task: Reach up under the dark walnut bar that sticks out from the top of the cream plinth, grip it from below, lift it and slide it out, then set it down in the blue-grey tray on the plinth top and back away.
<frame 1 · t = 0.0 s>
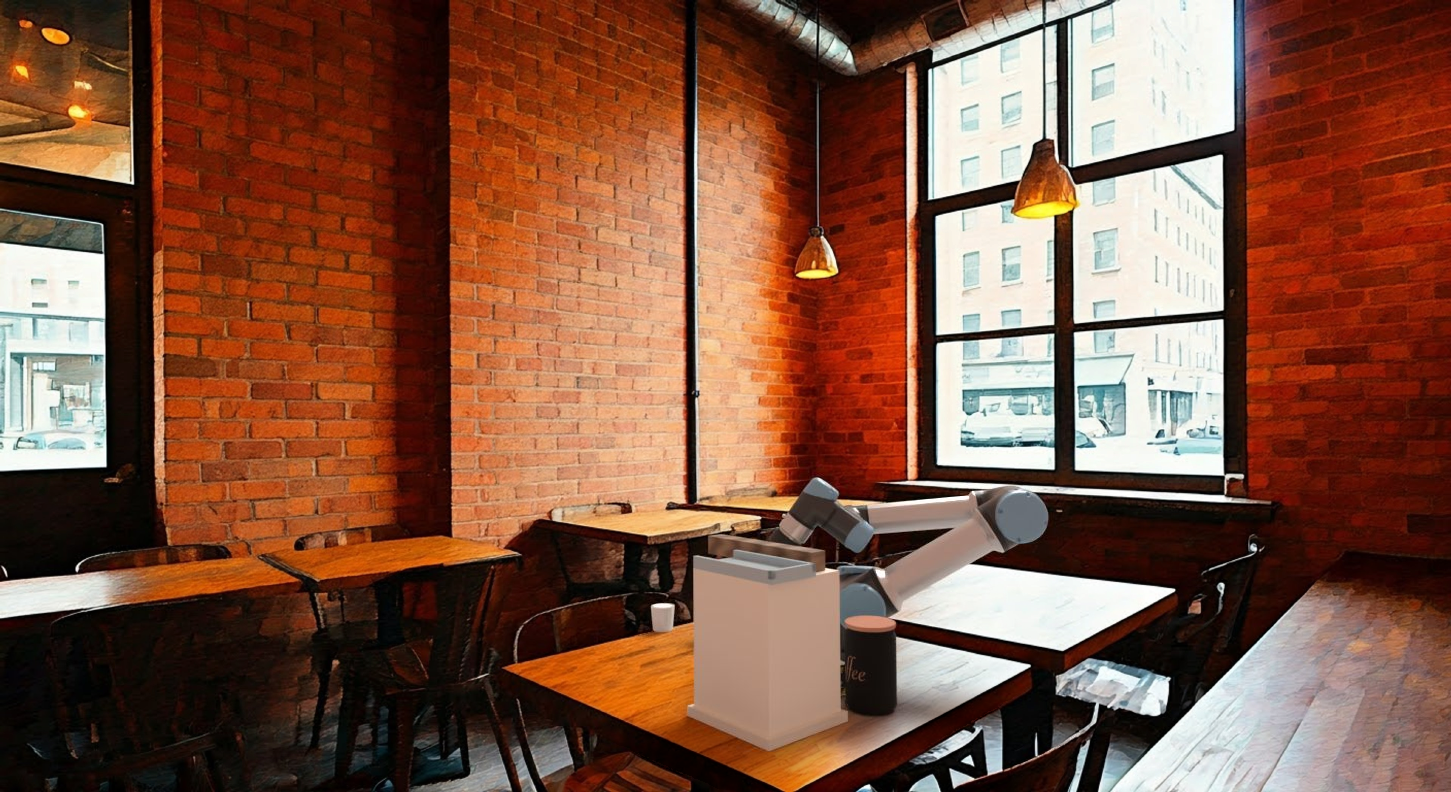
hand: (739, 605, 197), 15 cm above the table, tool tilted 35°, fingers open, 13 cm apart
walnut bar: (763, 561, 173), point 30 cm above the table, touching plinth
medicine bottle: (824, 694, 178), on the table
tray: (751, 571, 162), resting on plinth
coffee jar: (871, 709, 169), on the table
white cup: (662, 630, 233), on the table
egg container: (823, 630, 232), on the table
plinth: (766, 718, 163), on the table
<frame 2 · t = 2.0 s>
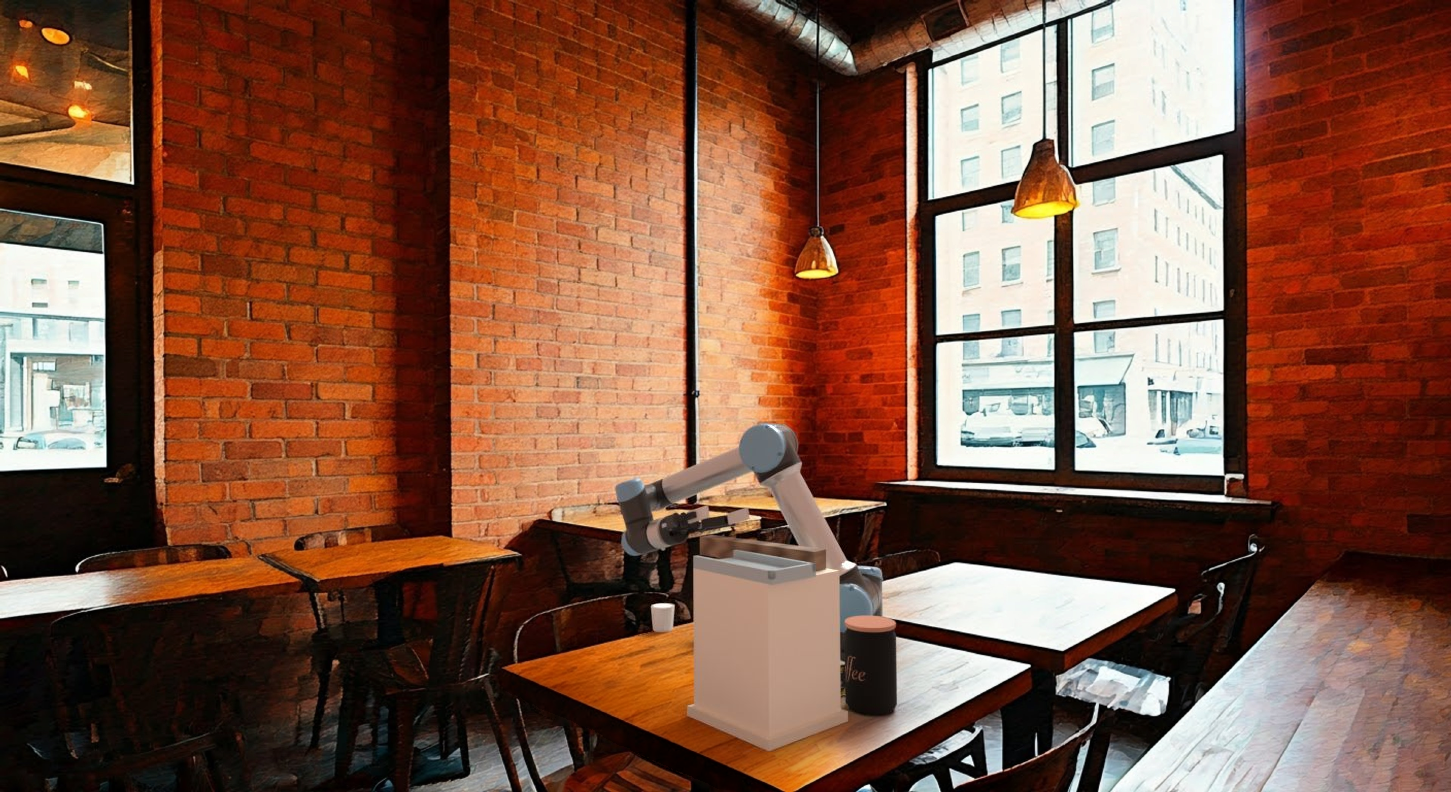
hand: (728, 512, 190), 39 cm above the table, tool pointing upward, fingers open, 13 cm apart
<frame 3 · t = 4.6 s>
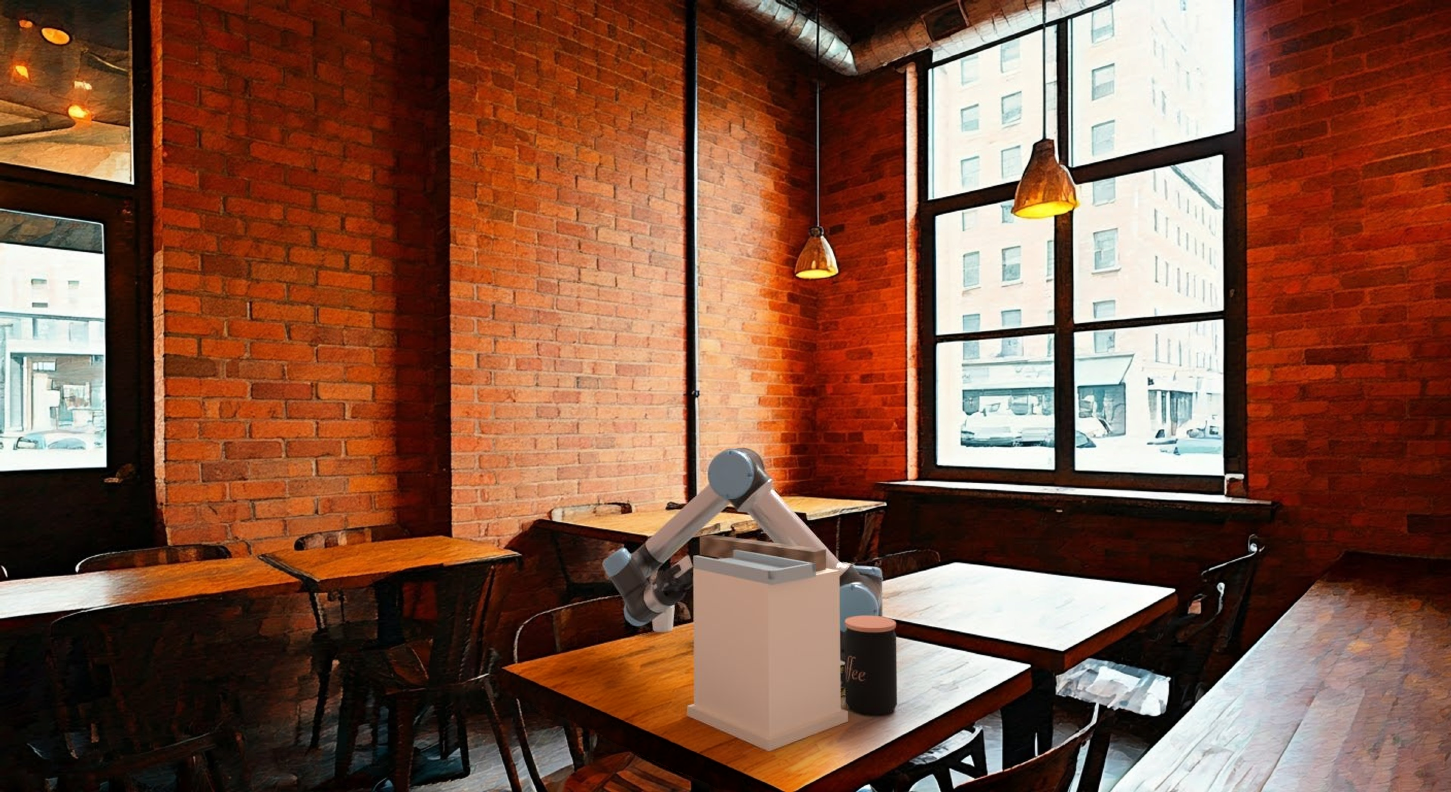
hand: (712, 557, 185), 29 cm above the table, tool pointing upward, fingers open, 13 cm apart
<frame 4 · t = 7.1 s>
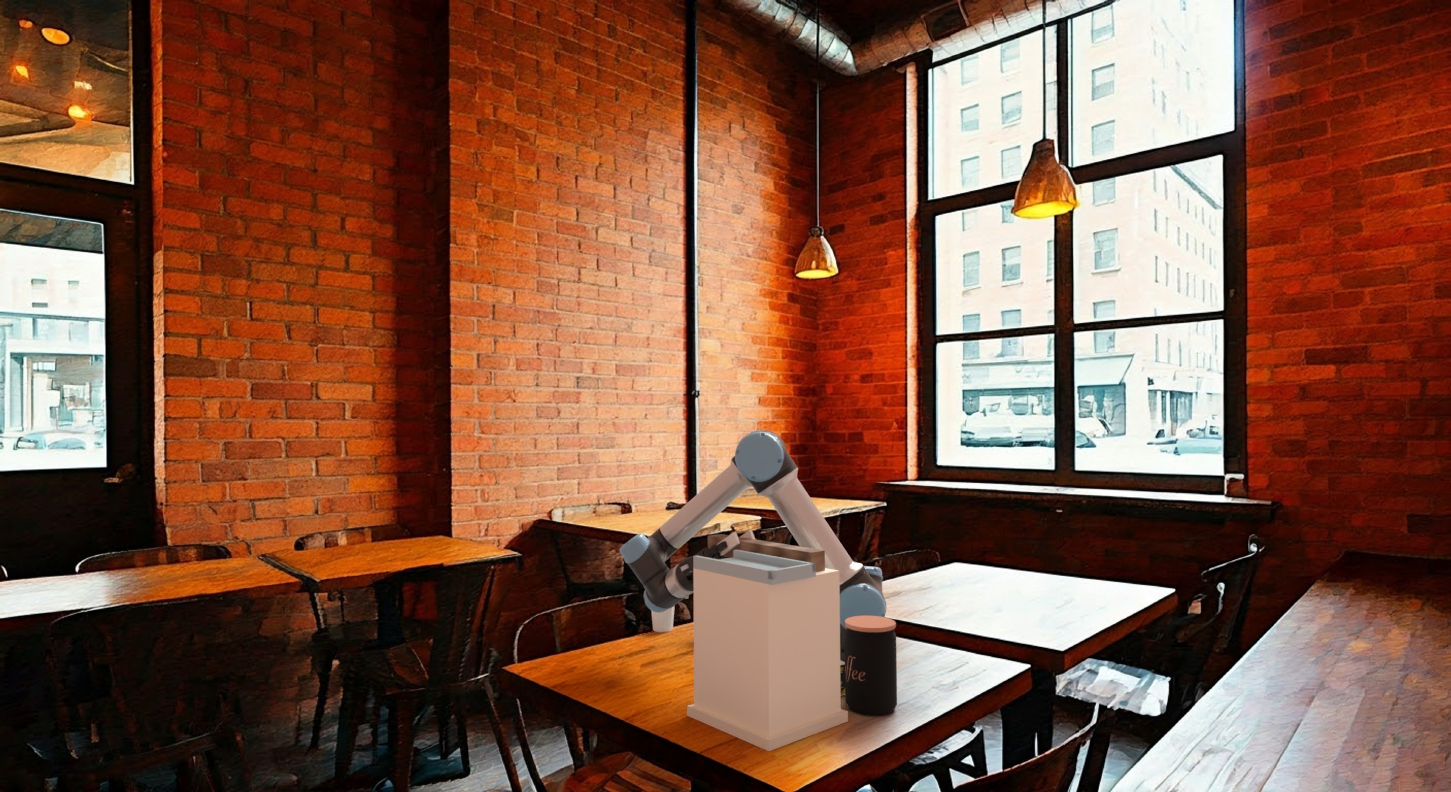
hand: (744, 536, 178), 35 cm above the table, tool pointing upward, fingers closed on walnut bar, 4 cm apart
walnut bar: (762, 561, 174), point 30 cm above the table, touching gripper, plinth
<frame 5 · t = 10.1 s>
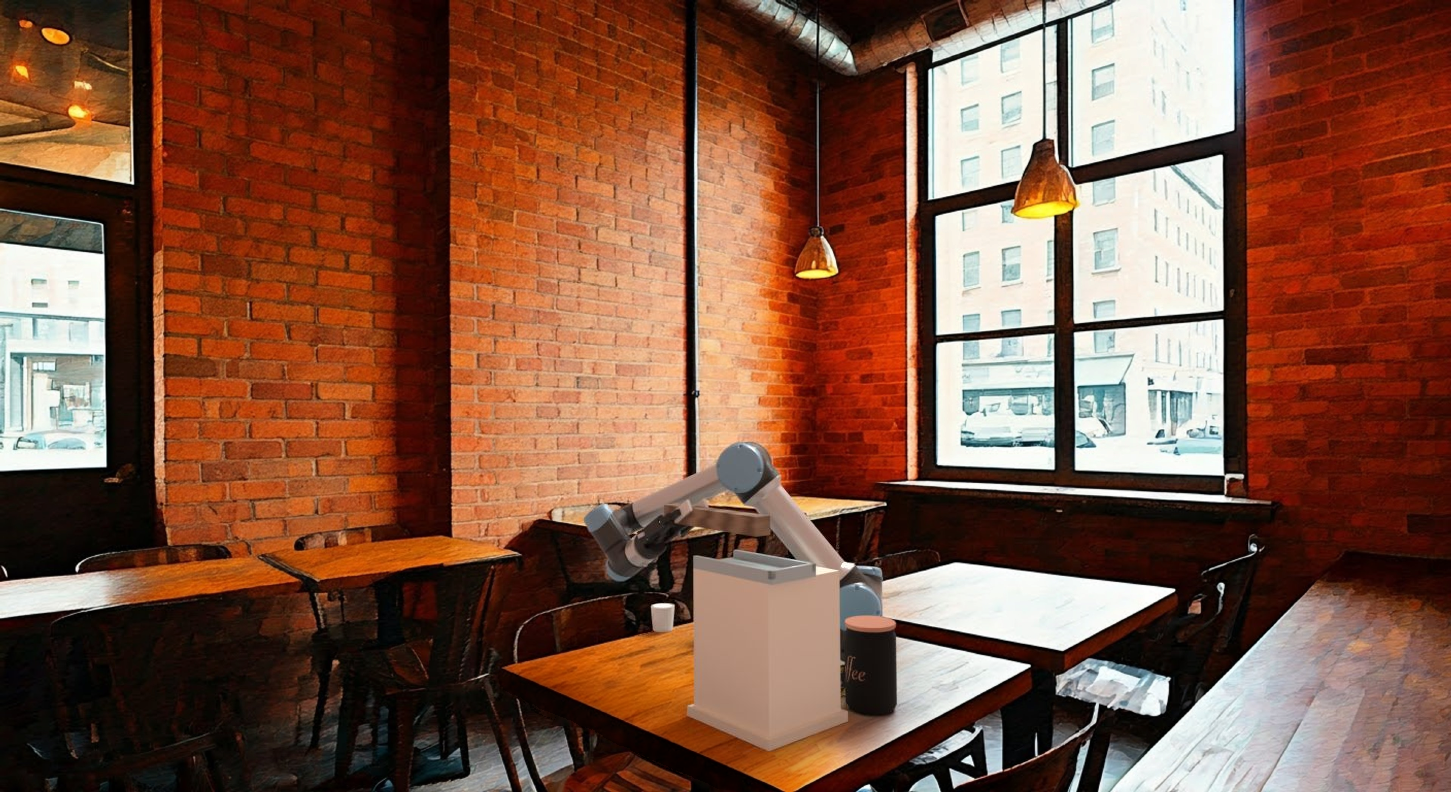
hand: (697, 504, 183), 41 cm above the table, tool pointing upward, fingers closed on walnut bar, 4 cm apart
walnut bar: (713, 527, 179), point 37 cm above the table, touching gripper
when the fingers open (37 cm above the table, at t = 13.4 s): walnut bar stays where it is, resting on tray.
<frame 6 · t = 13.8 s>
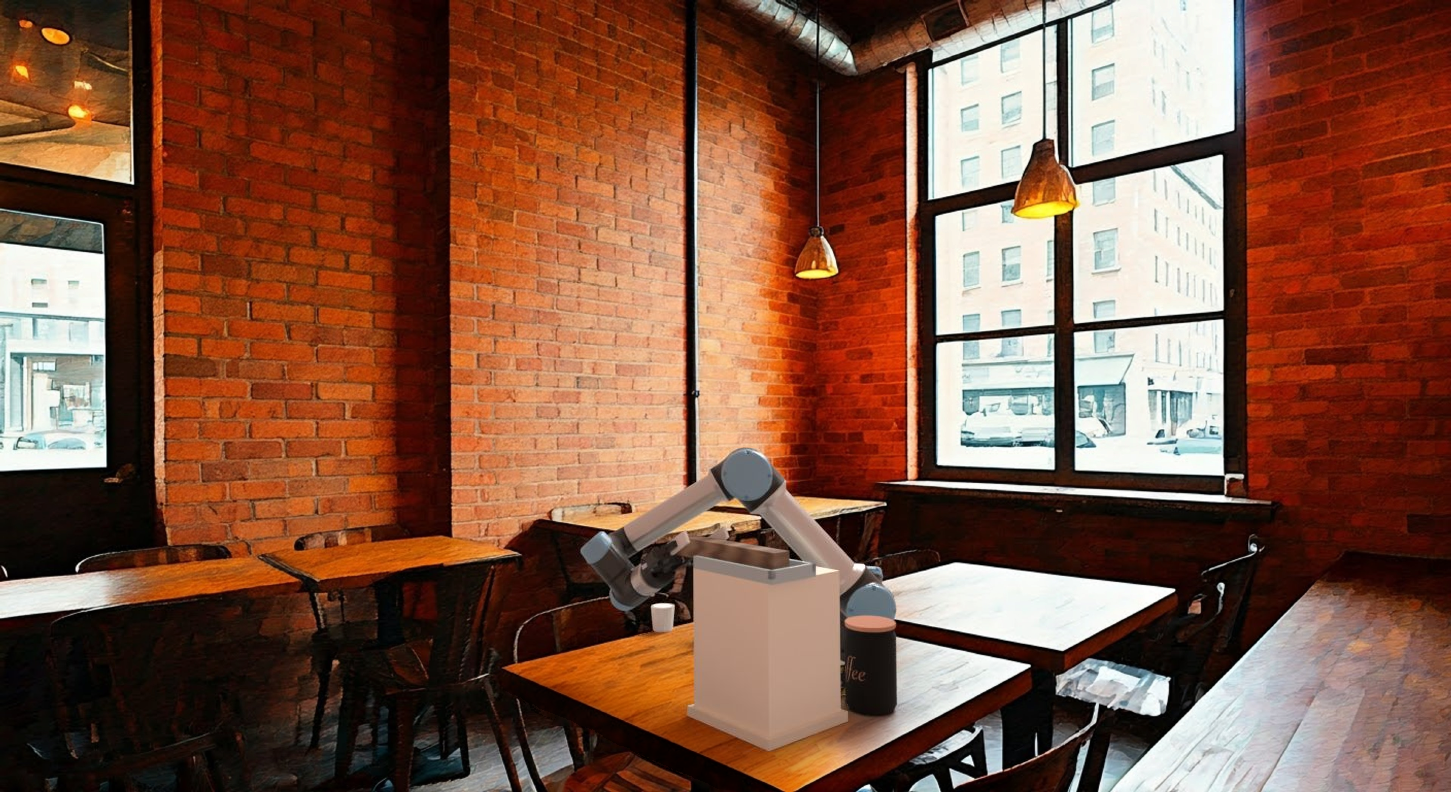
hand: (706, 534, 172), 36 cm above the table, tool pointing upward, fingers open, 10 cm apart
walnut bar: (727, 562, 167), point 31 cm above the table, touching tray
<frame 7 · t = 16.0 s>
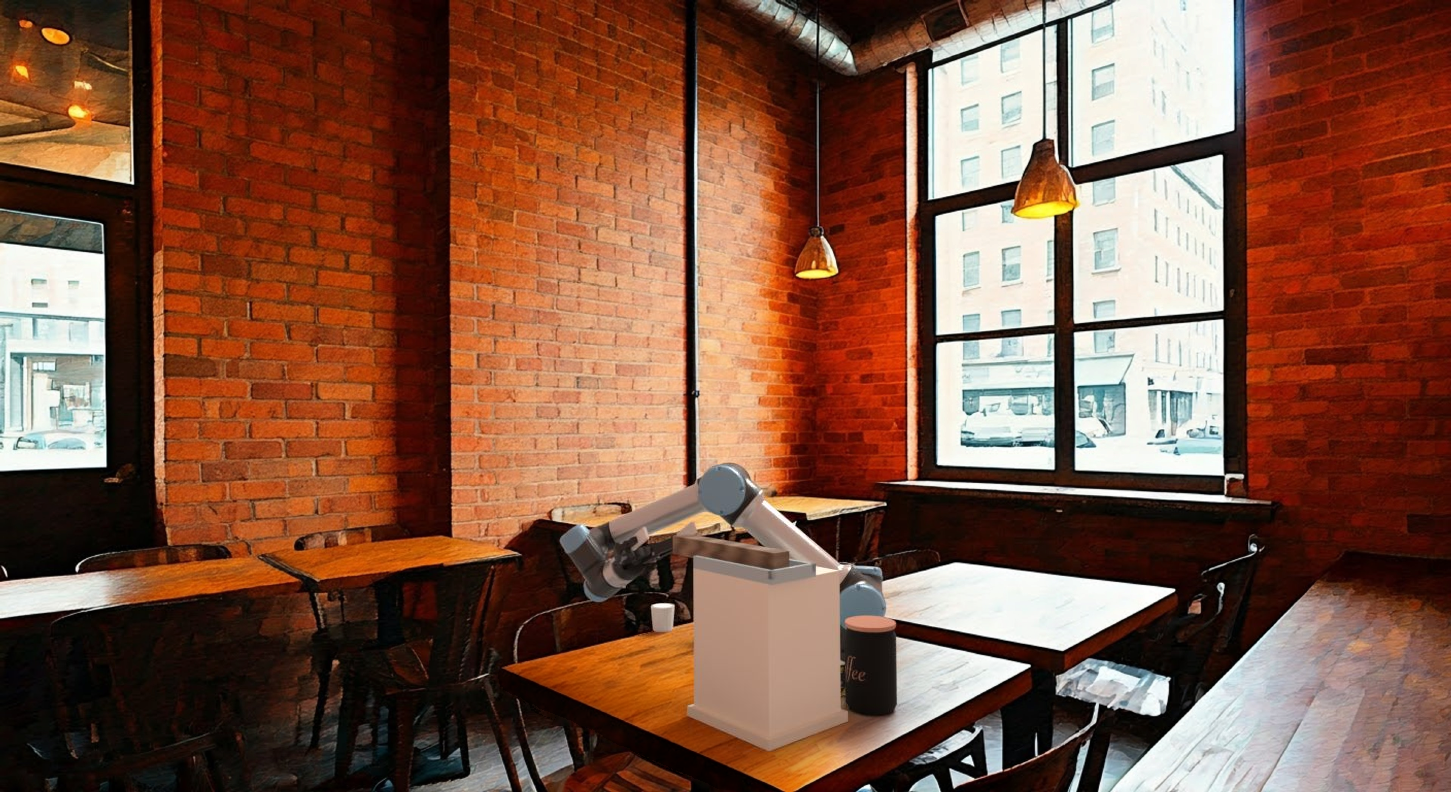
hand: (671, 529, 182), 36 cm above the table, tool pointing upward, fingers open, 13 cm apart
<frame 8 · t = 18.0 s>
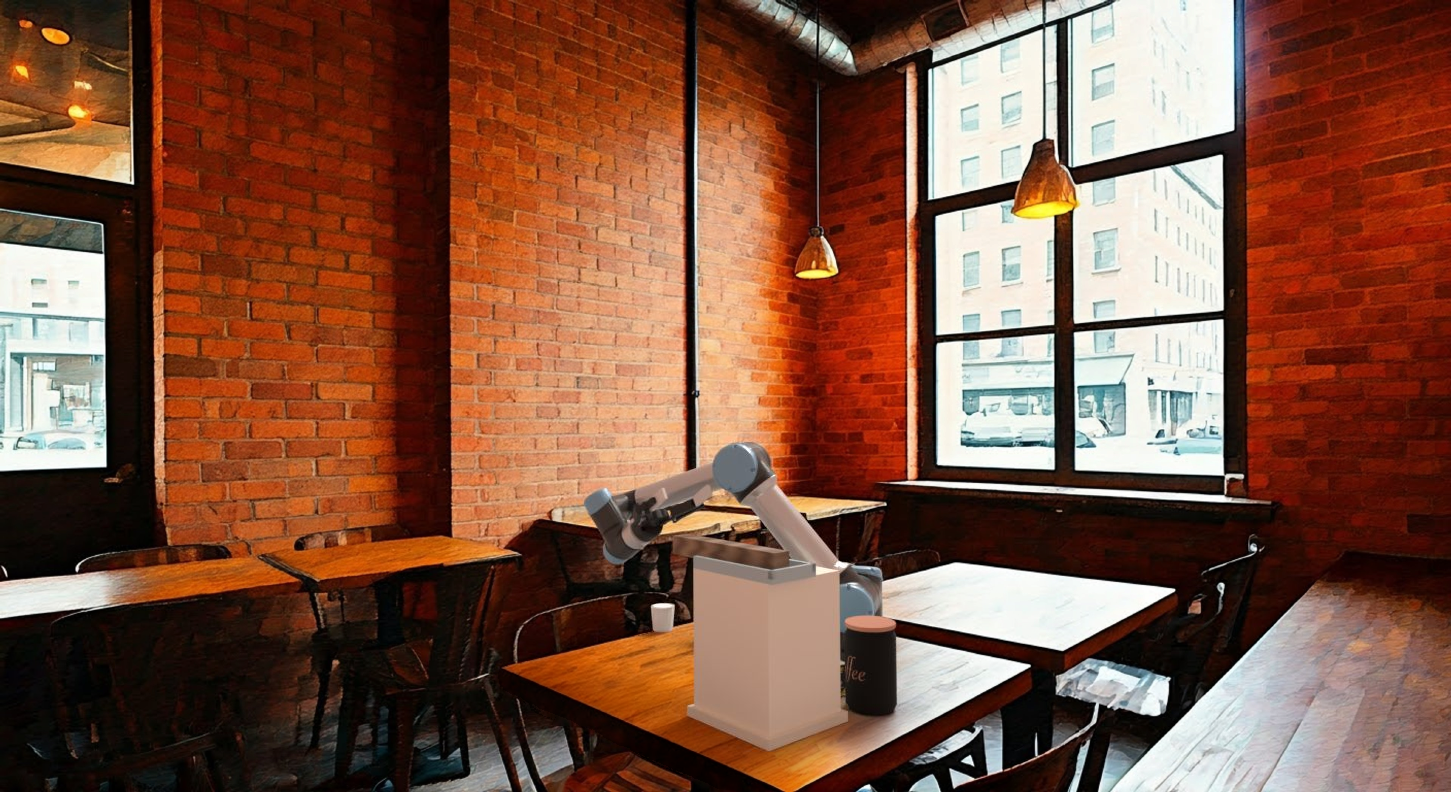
hand: (688, 491, 191), 44 cm above the table, tool pointing upward, fingers open, 13 cm apart
at the end: walnut bar inside the target area on the tray (0.5 cm from its centre), point 1.0 cm above the tray's base; walnut bar tilted 0°; the gripper is holding nothing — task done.
